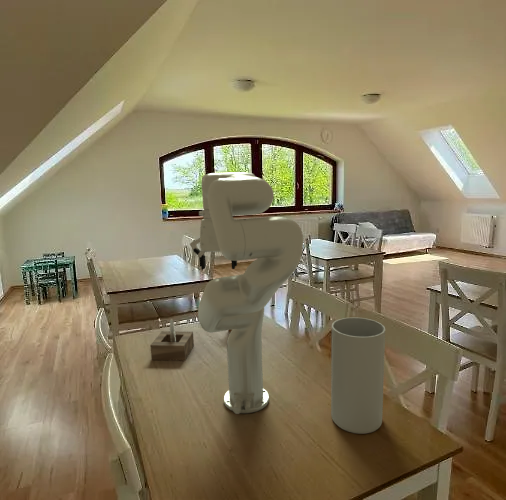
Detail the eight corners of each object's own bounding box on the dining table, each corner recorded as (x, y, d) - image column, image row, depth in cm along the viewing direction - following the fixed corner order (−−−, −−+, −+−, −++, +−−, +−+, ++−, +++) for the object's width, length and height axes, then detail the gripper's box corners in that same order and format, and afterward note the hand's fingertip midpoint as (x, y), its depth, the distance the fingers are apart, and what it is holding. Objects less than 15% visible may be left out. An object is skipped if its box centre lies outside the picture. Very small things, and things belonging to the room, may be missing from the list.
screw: (171, 357, 136) (164, 352, 140) (183, 352, 139) (176, 348, 143) (168, 322, 133) (162, 318, 137) (180, 318, 136) (174, 315, 140)
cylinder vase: (344, 399, 107) (345, 314, 102) (389, 416, 99) (393, 324, 94) (322, 422, 97) (322, 329, 93) (370, 442, 89) (372, 341, 85)
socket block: (185, 360, 133) (184, 345, 132) (151, 359, 134) (150, 345, 133) (193, 345, 145) (193, 331, 144) (162, 345, 146) (161, 331, 145)
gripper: (185, 216, 116) (188, 271, 120) (242, 215, 115) (244, 271, 118) (191, 214, 124) (194, 266, 127) (245, 212, 122) (247, 265, 125)
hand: (218, 268), depth 122 cm, fingers open, 9 cm apart
